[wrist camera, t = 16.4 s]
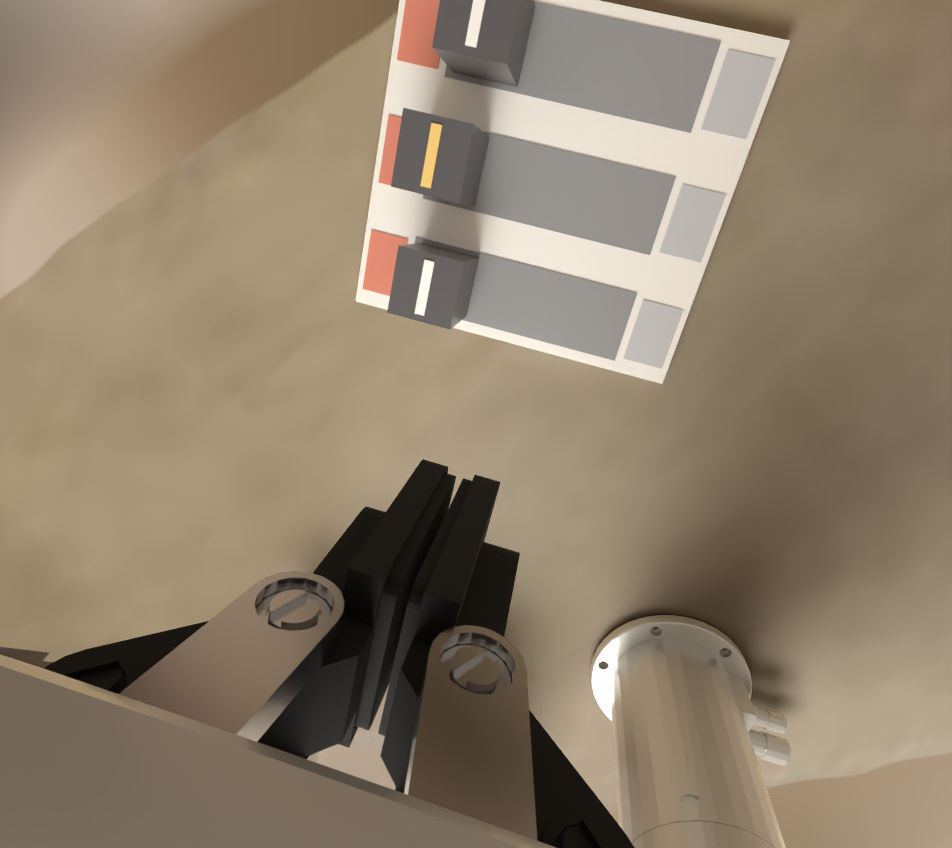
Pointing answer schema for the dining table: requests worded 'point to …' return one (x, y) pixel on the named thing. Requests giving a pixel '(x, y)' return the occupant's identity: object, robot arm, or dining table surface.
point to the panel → (566, 172)
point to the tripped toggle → (439, 157)
